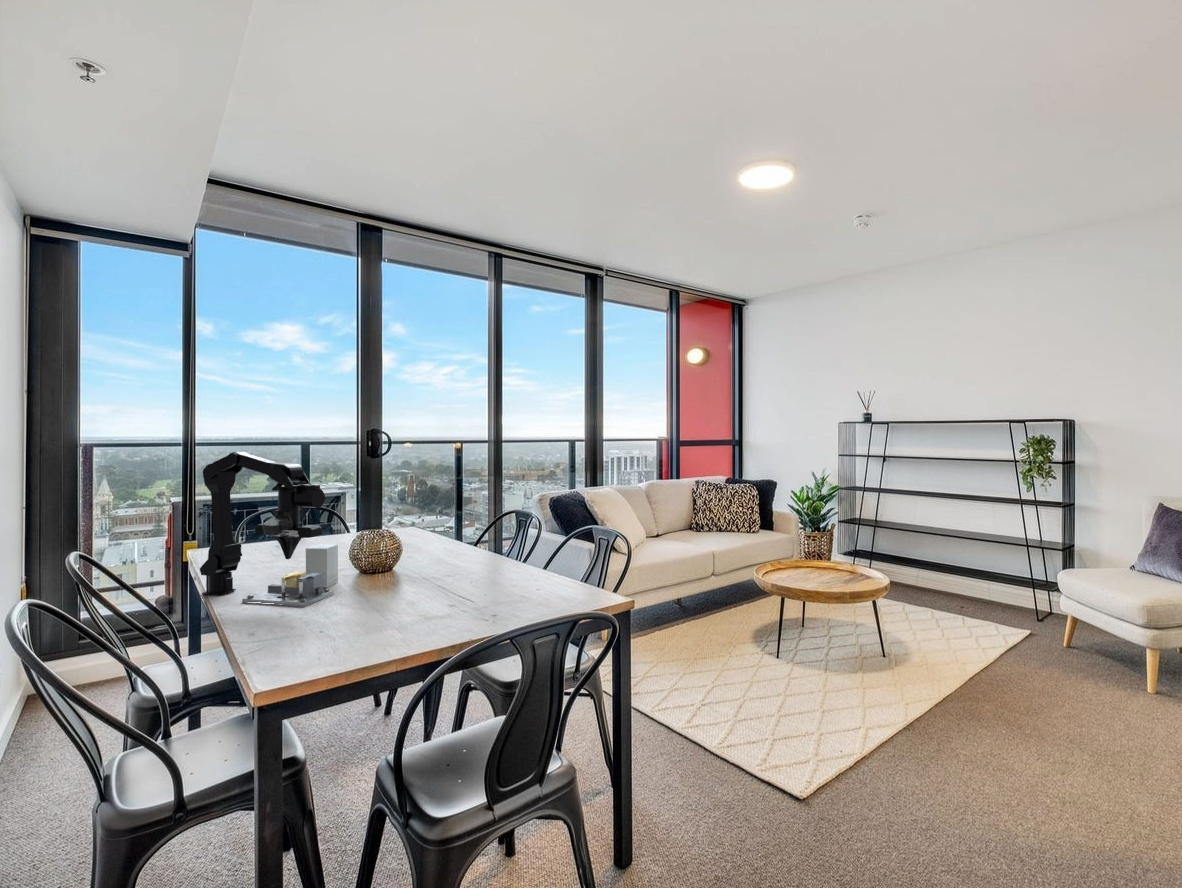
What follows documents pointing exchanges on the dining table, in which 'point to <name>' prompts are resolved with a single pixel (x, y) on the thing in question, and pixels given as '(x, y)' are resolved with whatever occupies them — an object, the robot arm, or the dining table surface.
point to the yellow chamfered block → (291, 580)
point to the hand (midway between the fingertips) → (288, 559)
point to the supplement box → (323, 562)
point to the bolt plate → (286, 600)
